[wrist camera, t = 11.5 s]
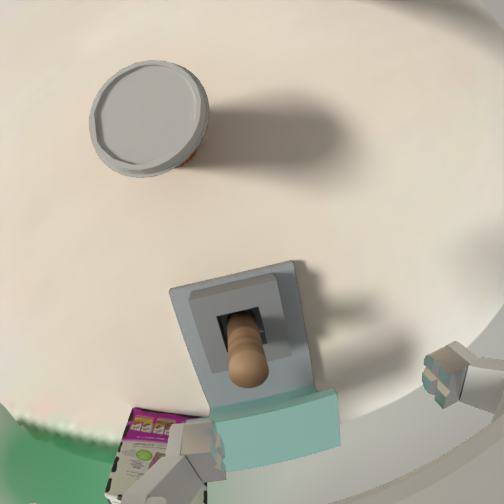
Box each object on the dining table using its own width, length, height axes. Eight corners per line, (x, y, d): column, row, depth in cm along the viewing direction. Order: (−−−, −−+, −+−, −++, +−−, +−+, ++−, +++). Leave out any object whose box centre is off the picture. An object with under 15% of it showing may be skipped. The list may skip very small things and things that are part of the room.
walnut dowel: (223, 309, 33) (224, 360, 22) (252, 303, 33) (264, 351, 22) (230, 334, 33) (234, 391, 23) (258, 328, 34) (272, 383, 23)
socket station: (170, 288, 33) (144, 334, 21) (290, 260, 34) (324, 293, 22) (212, 408, 37) (211, 473, 25) (312, 385, 37) (340, 445, 25)
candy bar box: (135, 429, 37) (110, 512, 20) (132, 406, 36) (101, 492, 20) (208, 439, 38) (206, 528, 22) (209, 416, 37) (207, 511, 21)
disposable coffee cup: (147, 92, 29) (113, 47, 17) (226, 113, 30) (227, 70, 18) (118, 170, 30) (67, 159, 18) (197, 194, 31) (180, 193, 20)
